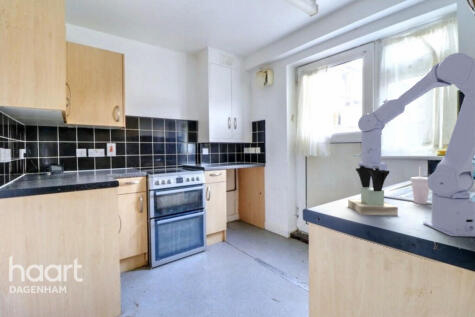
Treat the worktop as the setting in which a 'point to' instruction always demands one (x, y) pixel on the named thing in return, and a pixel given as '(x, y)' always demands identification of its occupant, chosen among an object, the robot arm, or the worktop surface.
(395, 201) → the worktop surface
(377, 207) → the birch block
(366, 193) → the sage cube
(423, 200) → the smoothie
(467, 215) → the robot arm
